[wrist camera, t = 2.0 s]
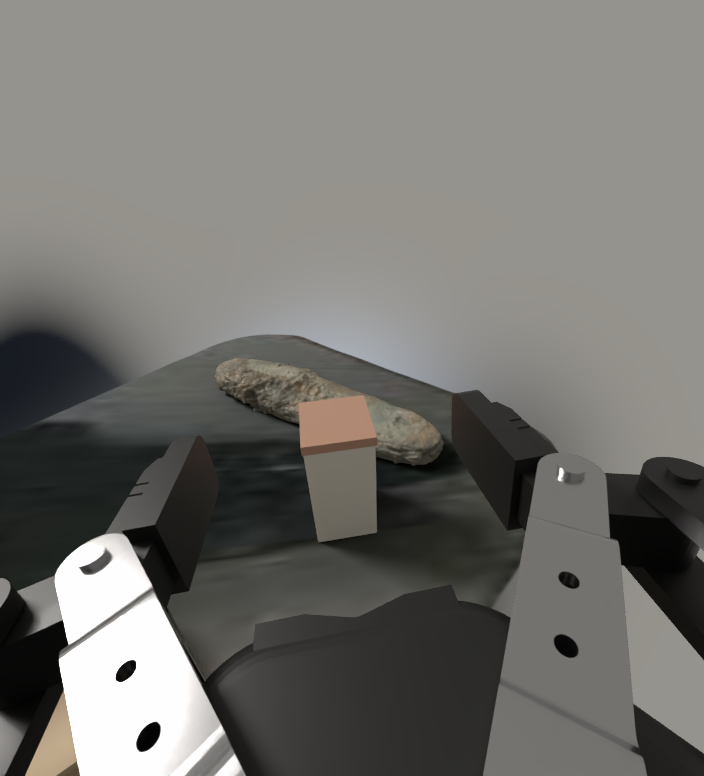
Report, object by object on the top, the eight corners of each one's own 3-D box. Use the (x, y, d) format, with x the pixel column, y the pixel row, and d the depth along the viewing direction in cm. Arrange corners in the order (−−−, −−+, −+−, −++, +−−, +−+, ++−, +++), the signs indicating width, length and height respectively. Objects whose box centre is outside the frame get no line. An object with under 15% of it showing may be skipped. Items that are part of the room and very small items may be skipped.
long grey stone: (417, 500, 36) (451, 446, 43) (424, 462, 33) (459, 411, 40) (196, 391, 52) (248, 364, 59) (188, 359, 49) (243, 335, 56)
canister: (317, 543, 31) (300, 447, 25) (313, 494, 35) (298, 403, 29) (378, 533, 31) (376, 437, 25) (367, 486, 36) (363, 394, 30)
